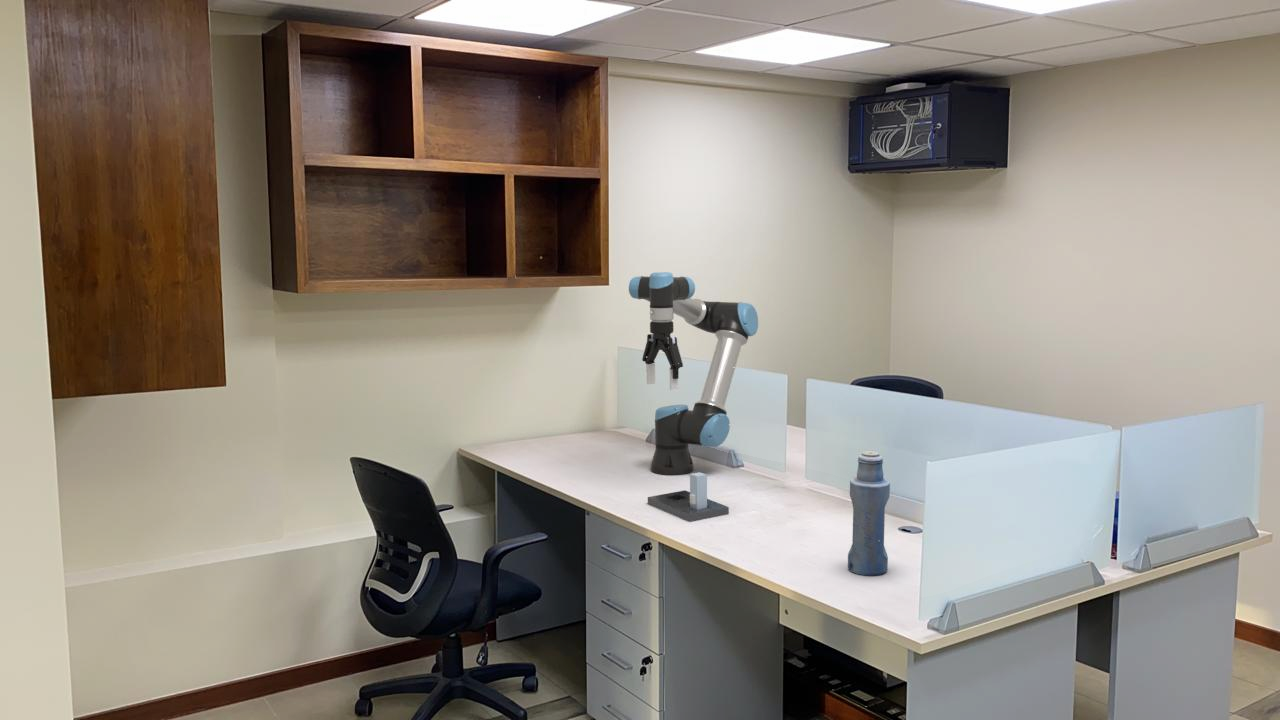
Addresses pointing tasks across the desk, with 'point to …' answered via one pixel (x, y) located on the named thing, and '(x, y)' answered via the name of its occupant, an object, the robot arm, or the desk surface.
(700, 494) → the pale blue rectangular prism
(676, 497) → the dark grey base plate
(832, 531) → the desk surface
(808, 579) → the desk surface
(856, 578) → the desk surface
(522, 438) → the desk surface
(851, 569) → the bottle
